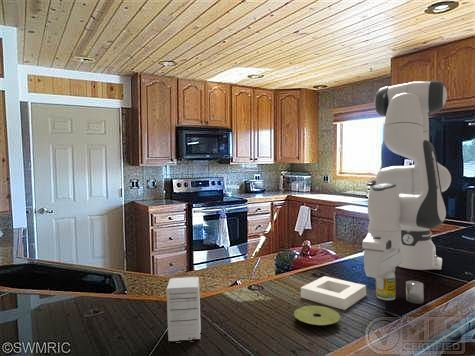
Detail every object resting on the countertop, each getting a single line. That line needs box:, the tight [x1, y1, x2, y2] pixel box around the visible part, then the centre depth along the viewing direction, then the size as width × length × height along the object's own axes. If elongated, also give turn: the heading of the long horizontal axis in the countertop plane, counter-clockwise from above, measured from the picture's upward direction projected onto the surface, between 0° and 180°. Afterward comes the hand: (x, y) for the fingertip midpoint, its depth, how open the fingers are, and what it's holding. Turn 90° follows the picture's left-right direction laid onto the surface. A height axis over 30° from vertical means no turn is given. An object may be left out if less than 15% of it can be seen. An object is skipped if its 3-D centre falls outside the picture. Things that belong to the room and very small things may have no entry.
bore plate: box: [300, 275, 367, 311], centre depth 99 cm, size 14×14×3 cm
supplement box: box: [166, 276, 202, 341], centre depth 78 cm, size 7×7×13 cm
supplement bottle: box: [375, 266, 397, 301], centre depth 97 cm, size 5×5×10 cm
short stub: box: [405, 280, 425, 305], centre depth 94 cm, size 4×4×5 cm
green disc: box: [293, 305, 341, 326], centre depth 82 cm, size 11×11×2 cm
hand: (385, 285), depth 97 cm, fingers closed on supplement bottle, 5 cm apart
